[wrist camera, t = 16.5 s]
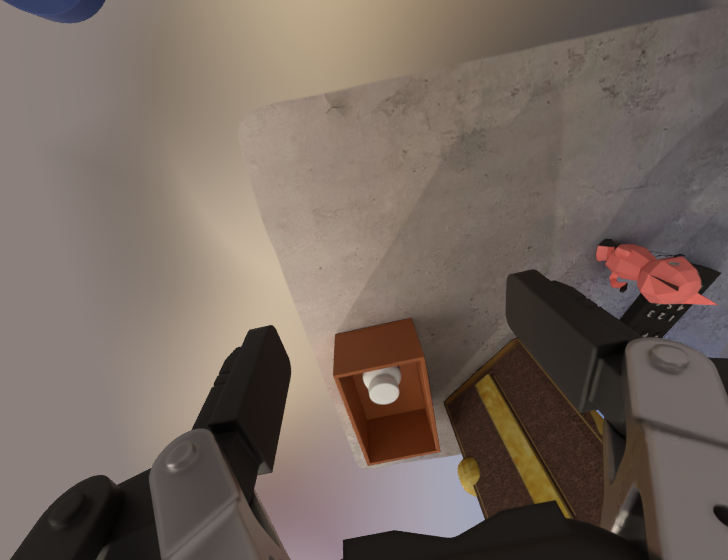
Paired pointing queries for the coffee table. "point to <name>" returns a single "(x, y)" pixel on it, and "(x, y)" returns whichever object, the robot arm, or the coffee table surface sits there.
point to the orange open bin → (394, 420)
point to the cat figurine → (653, 274)
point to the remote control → (662, 310)
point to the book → (526, 439)
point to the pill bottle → (383, 384)
